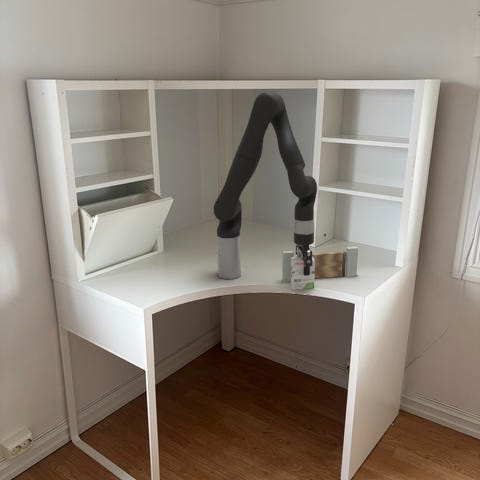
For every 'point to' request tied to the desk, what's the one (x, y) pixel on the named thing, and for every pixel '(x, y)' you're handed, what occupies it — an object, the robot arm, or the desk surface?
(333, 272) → the brown patterned panel
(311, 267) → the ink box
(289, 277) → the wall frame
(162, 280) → the desk surface
